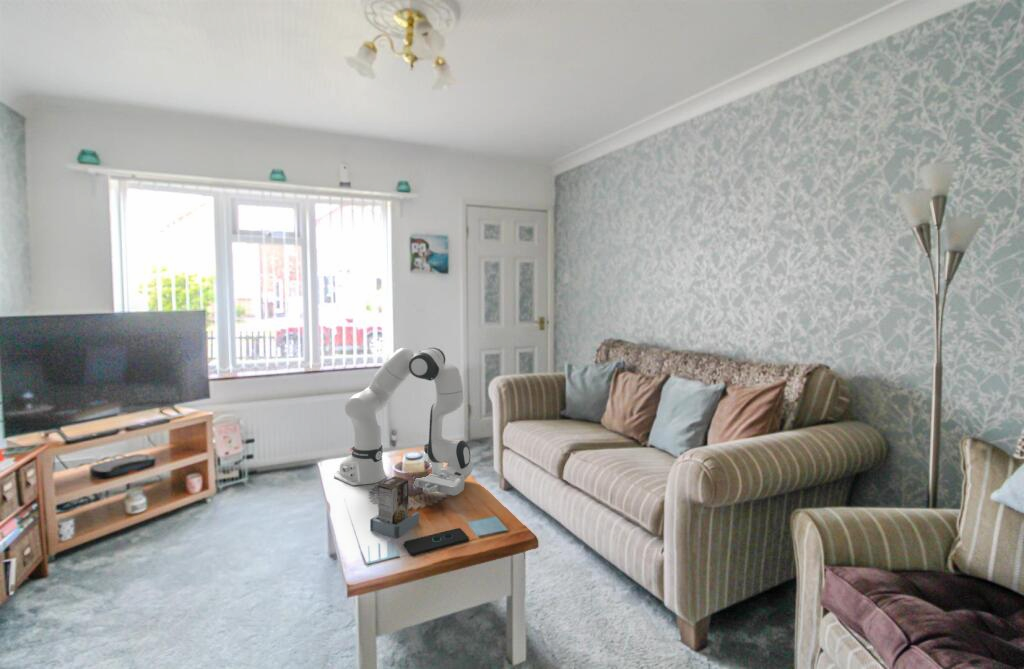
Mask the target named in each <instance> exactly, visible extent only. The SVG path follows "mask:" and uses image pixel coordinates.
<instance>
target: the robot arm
mask: <svg viewBox="0 0 1024 669" xmlns="http://www.w3.org/2000/svg"><path fill="white" fill-rule="evenodd" d="M410 374H411V375H412V376H413V377H415V378H417V379H421V380H426V381H430V382H431V381H434V385H435V391H436V393H435V394H436V396H435V397H436V398H435V400H434V401H435V402H434V403H433V404H432V405H431V408H430V414H429V428H428V429H429V432H428V443H427V444H428V447H427V454H428V457H429V458H430V460H431V461H432V462H434V463H442V462H443V464H444V463H445V464H447V465H445V466H443V468H442V469H440V470H439V471H437V473H436V474H431V473H430V474H429V475H428V476H426V477H422V478H416V479H415V481H414V484H413V486H414V485H415V486H416V488H420V489H422V493H425V494H430V495H431V493H432V494H433V493H436V492H438V493H441V494H445V495H450V496H458V495H459V494H460V493H461V492H463V491H464V490H465V480H466V479H467V478H469V476H470V475H471V474H472V472H473V470H474V464H473V461H472V460H471V449H470V447H469V445H468V443H467V442H466V441H465V440H462V439H461V440H459V439H445V438H443V420H444V418H445V417H446V415H450V414H452V413H453V412H455V411H458V410H459V409H460V408H461V406H462V405H463V403H464V389H463V388H464V387H463V382H462V377H461V374H460V370H459V368H458V367H457V366H456V365H453V364H449V363H448V364H446V355H445V353H444V351H442V350H441V349H440V348H437V347H428V348H426V349H422V350H419V351H418V352H415V351H414V350H412V349H411V348H408V347H404V346H403V347H401V348H399V349H396V351H394V352H393V354H391V355H390V356H389V357H388V358H387V360H386V361H385V362H384V363H383V364H382V365H381V366H380V367H379V369H378V370H377V371H376V372H375V373H374V375H373V379H372V381H371V382H370V384H369V385H368V386H367V387H366V388H365V389H363V390H362V391H359V392H357V393H355V394H353V395H352V396H351V397H350V398H349V399H347V401H346V402H345V404H344V411H345V414H346V415H347V416H348V418H349V419H350V420H351V422H352V426H353V429H354V446H353V447H350V448H349V452H351V451H352V452H351V454H350V455H349V456H347V457H346V458H345V459H343V461H342V462H341V463H340V466H339V470H338V471H337V472H335V473H334V474H333V478H334V479H336V480H339V481H341V482H344V483H346V484H349V485H350V486H360V485H371V484H376V483H379V482H381V481H383V480H384V479H385V478H386V473H385V469H384V468H385V467H384V462H383V453H384V452H383V445H382V427H381V426H380V425H379V423H378V420H377V413H378V412H380V411H382V410H383V409H384V408H385V407H386V406H387V404H389V401H390V400H391V398H392V396H393V395H394V393H395V392H396V391H397V389H398V388H399V387H400V386H401V384H403V383H404V381H405V380H406V379H407V378H408V377H409V375H410ZM415 486H414V487H415Z"/></svg>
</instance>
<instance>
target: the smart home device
mask: <svg viewBox="0 0 1024 669" xmlns="http://www.w3.org/2000/svg"><path fill="white" fill-rule="evenodd" d="M469 541H470V536H469V535H468V534H466V533H465V531H464V530H463V529H461V528H460V527H457V528H456V527H455V528H452V529H448V530H444V531H441V532H437V533H433V534H430V535H429V534H428V535H424V536H421V537H417V538H413V539H409V540H405V541H403V547H404V548H405V550H406V552H408V554H409V556H410V557H417V556H421V555H423V554H427V553H431V552H434V551H438V550H442V549H446V548H449V547H452V546H457V545H460V544H464V543H467V542H469Z"/></svg>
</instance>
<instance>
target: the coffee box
mask: <svg viewBox="0 0 1024 669" xmlns="http://www.w3.org/2000/svg"><path fill="white" fill-rule="evenodd" d="M377 490H378V491H377V497H378V498H377V499H378V500H377V501H378V505H377V506H378V507H377V508H378V510H377V512H378V514H377V515H378V518H379V520H382V521H385V522H388V523H392V524H395V525H397V524H398V523H400V522H401V521H403V520H404V519H406V518H407V517H409V479H405V478H403V477H400V476H392V477H390V478H388V479H387V480H386V481H383V482H382V483H380V484H378V485H377Z"/></svg>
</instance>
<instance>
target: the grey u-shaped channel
mask: <svg viewBox="0 0 1024 669" xmlns="http://www.w3.org/2000/svg"><path fill="white" fill-rule="evenodd" d="M419 523H420V511H414V513H412V514H410V515H408V517H407V518H406V519H404V520H403V521H401V522H400V523H398V524H397V525H395V524H392V523H388V522H385V521H382V520H379V518H378V514H377V515H375V516H374V517H371V518H370V525H369V527H370V528H369V530H370V531H372V532H374V533H377V534H381V535H384V536H387V537H391V538H393V539H396V540H398V539H399V538H400V537H401V536H403V535H404V534H406V533H407V532H408V531H410V530H411V529H413V528H414V527H416V526H417V525H418V524H419Z"/></svg>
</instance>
